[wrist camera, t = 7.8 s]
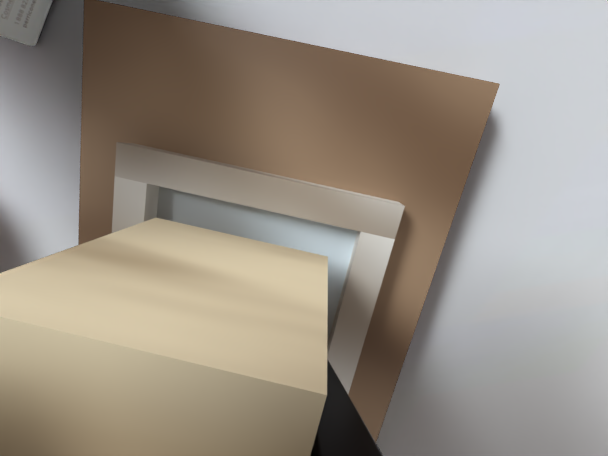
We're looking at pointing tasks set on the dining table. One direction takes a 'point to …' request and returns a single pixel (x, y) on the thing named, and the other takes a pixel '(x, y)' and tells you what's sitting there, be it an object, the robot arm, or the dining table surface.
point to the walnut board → (284, 163)
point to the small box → (23, 19)
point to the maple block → (164, 347)
